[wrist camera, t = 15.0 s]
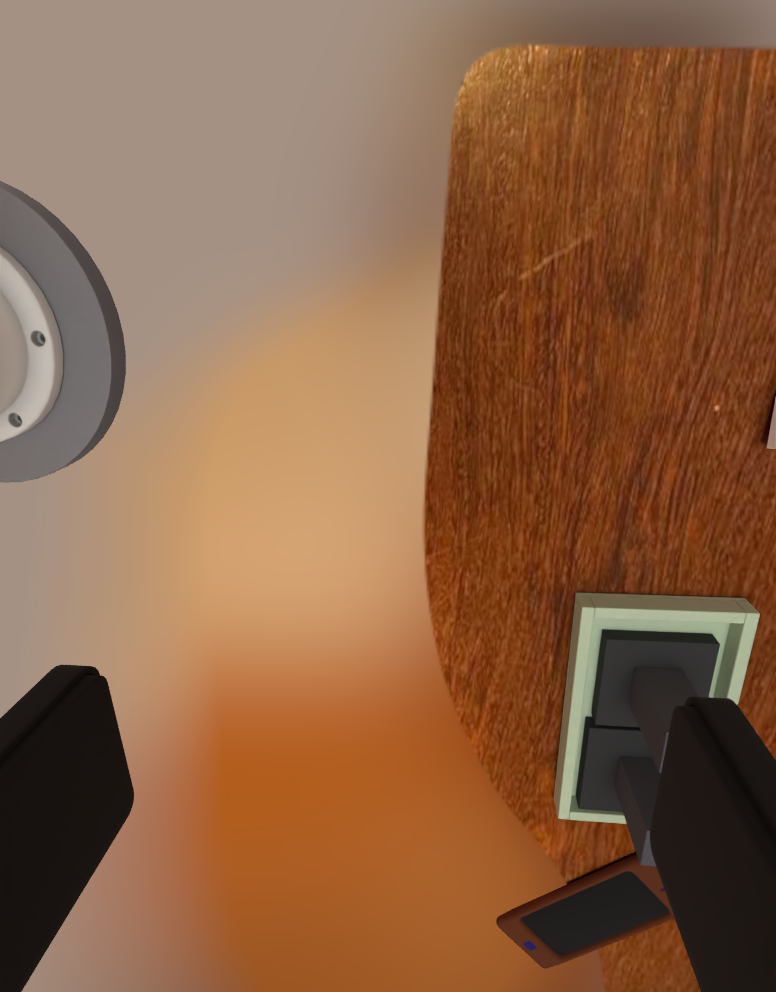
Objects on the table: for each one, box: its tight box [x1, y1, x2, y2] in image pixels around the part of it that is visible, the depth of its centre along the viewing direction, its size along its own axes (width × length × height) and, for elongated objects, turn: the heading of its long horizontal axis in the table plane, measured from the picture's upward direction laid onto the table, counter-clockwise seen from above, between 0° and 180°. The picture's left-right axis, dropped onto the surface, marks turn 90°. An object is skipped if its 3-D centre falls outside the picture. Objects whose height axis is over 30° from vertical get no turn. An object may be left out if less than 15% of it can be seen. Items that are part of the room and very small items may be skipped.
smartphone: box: [497, 854, 675, 968], centre depth 46 cm, size 7×1×15 cm
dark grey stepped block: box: [591, 629, 720, 773], centre depth 35 cm, size 7×7×7 cm
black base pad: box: [576, 716, 661, 866], centre depth 37 cm, size 8×8×7 cm
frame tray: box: [554, 593, 760, 824], centre depth 38 cm, size 11×18×2 cm, turn 1°
